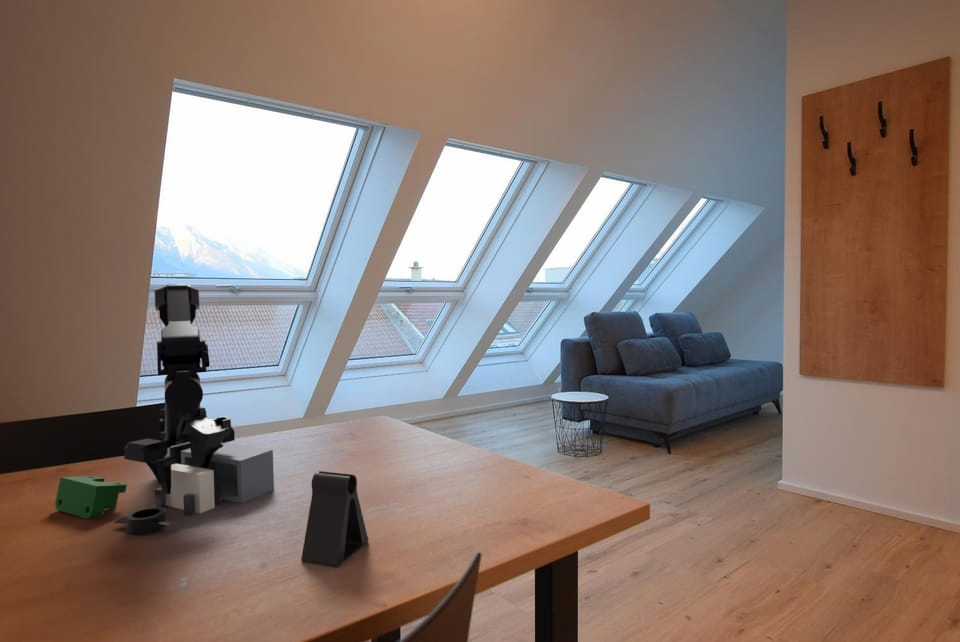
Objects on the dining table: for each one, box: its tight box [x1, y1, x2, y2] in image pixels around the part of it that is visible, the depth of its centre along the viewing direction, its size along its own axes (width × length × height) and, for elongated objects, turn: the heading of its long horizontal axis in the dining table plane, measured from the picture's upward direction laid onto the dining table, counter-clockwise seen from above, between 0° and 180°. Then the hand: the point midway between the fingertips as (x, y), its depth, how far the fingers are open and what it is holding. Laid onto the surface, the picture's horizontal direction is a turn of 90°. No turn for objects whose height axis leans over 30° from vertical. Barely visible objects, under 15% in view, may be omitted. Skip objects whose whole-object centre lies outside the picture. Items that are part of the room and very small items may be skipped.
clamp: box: [54, 475, 128, 519], centre depth 108 cm, size 12×6×9 cm, turn 57°
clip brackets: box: [154, 484, 222, 517], centre depth 109 cm, size 9×7×4 cm
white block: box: [166, 464, 216, 514], centre depth 109 cm, size 10×4×7 cm, turn 65°
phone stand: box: [300, 470, 369, 568], centre depth 89 cm, size 9×6×12 cm, turn 161°
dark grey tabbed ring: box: [113, 506, 180, 537], centre depth 99 cm, size 8×10×3 cm
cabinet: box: [181, 442, 275, 504], centre depth 117 cm, size 16×8×8 cm, turn 65°
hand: (183, 488), depth 108 cm, fingers open, 6 cm apart
